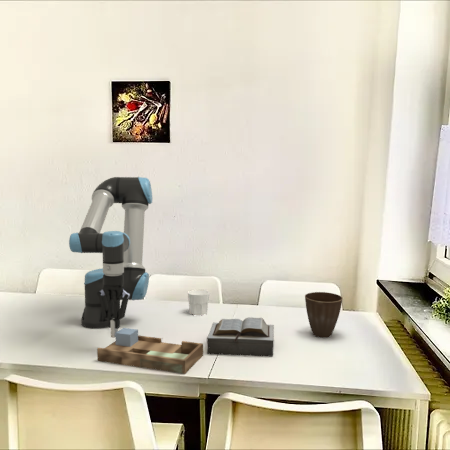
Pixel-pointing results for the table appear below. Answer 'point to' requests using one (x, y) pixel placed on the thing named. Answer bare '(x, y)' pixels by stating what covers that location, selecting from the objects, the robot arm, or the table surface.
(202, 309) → the cup
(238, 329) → the bible
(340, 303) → the plant pot
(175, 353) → the wooden tray
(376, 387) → the table surface
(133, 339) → the block
